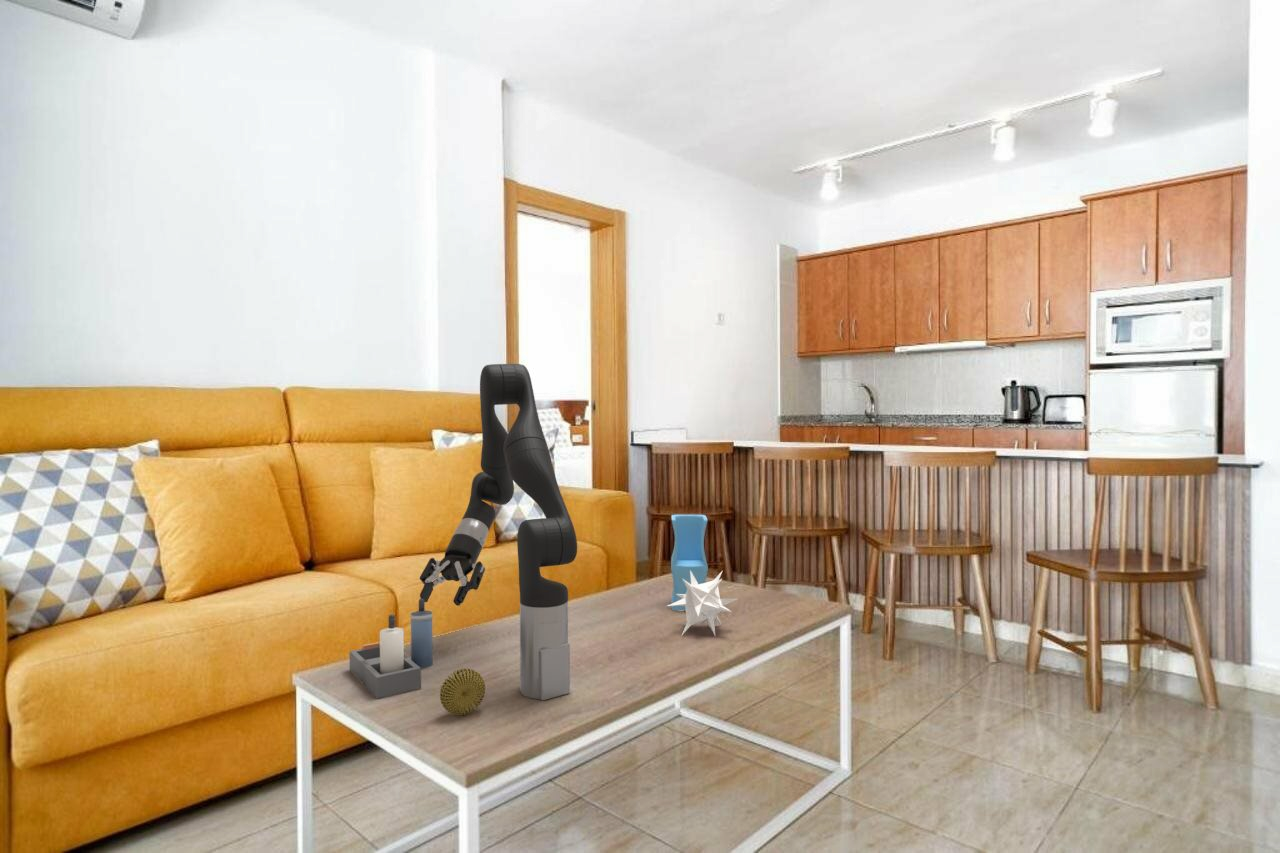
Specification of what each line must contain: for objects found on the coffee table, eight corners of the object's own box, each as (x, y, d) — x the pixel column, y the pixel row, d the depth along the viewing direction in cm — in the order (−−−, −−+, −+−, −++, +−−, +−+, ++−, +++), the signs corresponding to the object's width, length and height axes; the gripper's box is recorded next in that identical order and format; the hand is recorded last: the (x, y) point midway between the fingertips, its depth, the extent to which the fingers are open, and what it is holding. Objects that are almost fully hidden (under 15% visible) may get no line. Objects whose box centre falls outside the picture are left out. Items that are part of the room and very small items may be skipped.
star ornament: (752, 636, 172) (752, 577, 171) (708, 649, 163) (708, 587, 162) (697, 615, 188) (697, 561, 187) (654, 626, 179) (654, 569, 178)
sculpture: (481, 705, 130) (481, 662, 129) (488, 713, 126) (488, 669, 126) (437, 714, 126) (437, 669, 126) (442, 723, 122) (442, 677, 122)
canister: (436, 665, 150) (435, 599, 150) (415, 670, 148) (414, 602, 148) (428, 659, 154) (428, 594, 154) (407, 664, 151) (407, 597, 151)
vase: (671, 611, 193) (671, 519, 192) (671, 601, 202) (671, 514, 202) (707, 611, 192) (707, 519, 192) (705, 601, 202) (705, 514, 202)
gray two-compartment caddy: (421, 688, 138) (420, 615, 138) (376, 698, 133) (376, 623, 132) (390, 661, 153) (390, 596, 153) (349, 670, 148) (349, 602, 147)
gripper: (435, 530, 167) (404, 590, 157) (488, 534, 163) (460, 595, 152) (448, 549, 172) (419, 608, 162) (499, 552, 168) (474, 613, 157)
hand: (439, 602), depth 157 cm, fingers open, 8 cm apart
